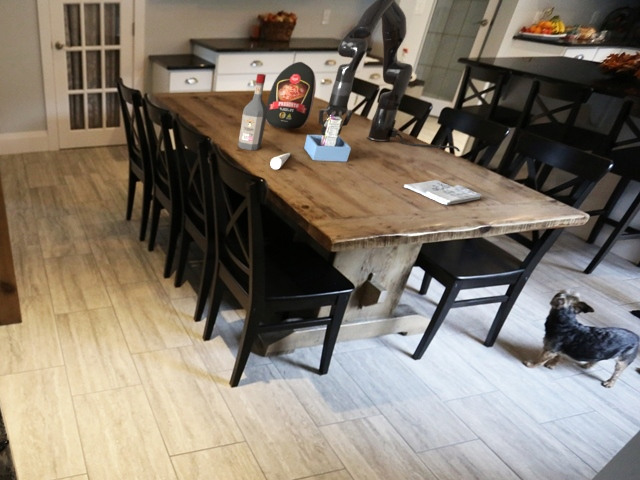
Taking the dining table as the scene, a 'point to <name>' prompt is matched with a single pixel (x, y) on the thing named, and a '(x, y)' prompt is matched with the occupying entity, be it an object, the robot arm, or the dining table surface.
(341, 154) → the crate
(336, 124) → the candy bar box
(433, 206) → the dining table surface
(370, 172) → the dining table surface
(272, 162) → the unicorn horn
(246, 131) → the liquor
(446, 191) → the folded newspaper
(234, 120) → the dining table surface
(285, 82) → the packaged food
